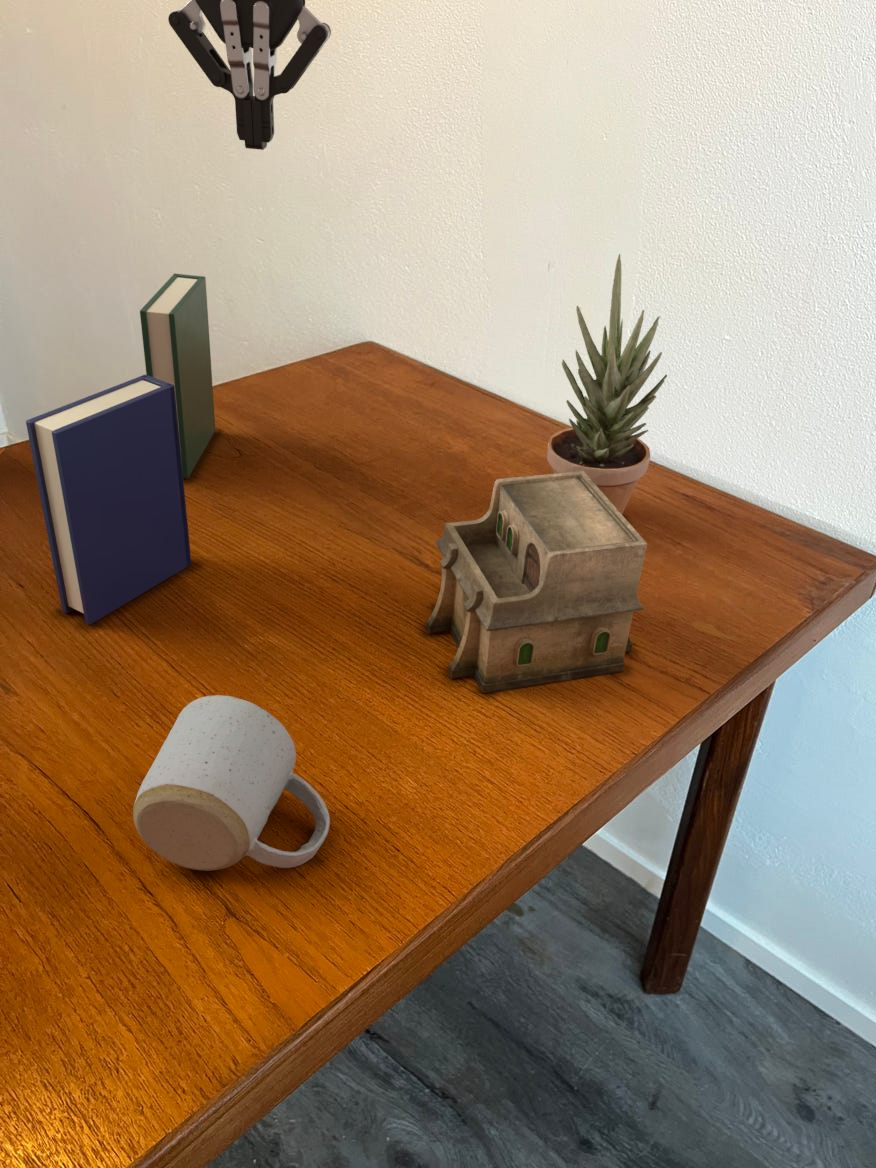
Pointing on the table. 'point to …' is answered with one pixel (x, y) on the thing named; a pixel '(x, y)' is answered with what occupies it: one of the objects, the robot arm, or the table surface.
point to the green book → (182, 358)
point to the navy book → (112, 494)
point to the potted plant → (609, 409)
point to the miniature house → (539, 584)
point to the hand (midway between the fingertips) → (256, 147)
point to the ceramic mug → (223, 788)
